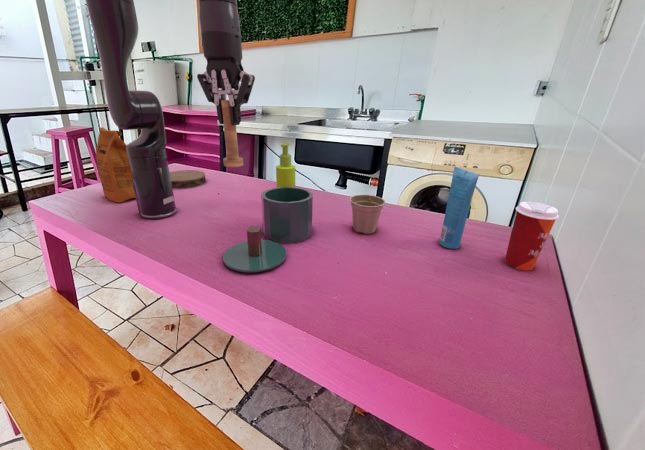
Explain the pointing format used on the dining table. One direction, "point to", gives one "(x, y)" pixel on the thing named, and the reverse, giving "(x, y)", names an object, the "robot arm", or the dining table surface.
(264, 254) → the lid
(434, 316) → the dining table surface
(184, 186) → the brown round disc
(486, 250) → the dining table surface
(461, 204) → the tube
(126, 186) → the coffee package
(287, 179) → the soap dispenser
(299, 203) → the canister
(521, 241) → the paper cup
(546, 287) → the dining table surface
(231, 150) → the wooden pestle
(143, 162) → the robot arm
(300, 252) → the dining table surface
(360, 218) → the flower pot
